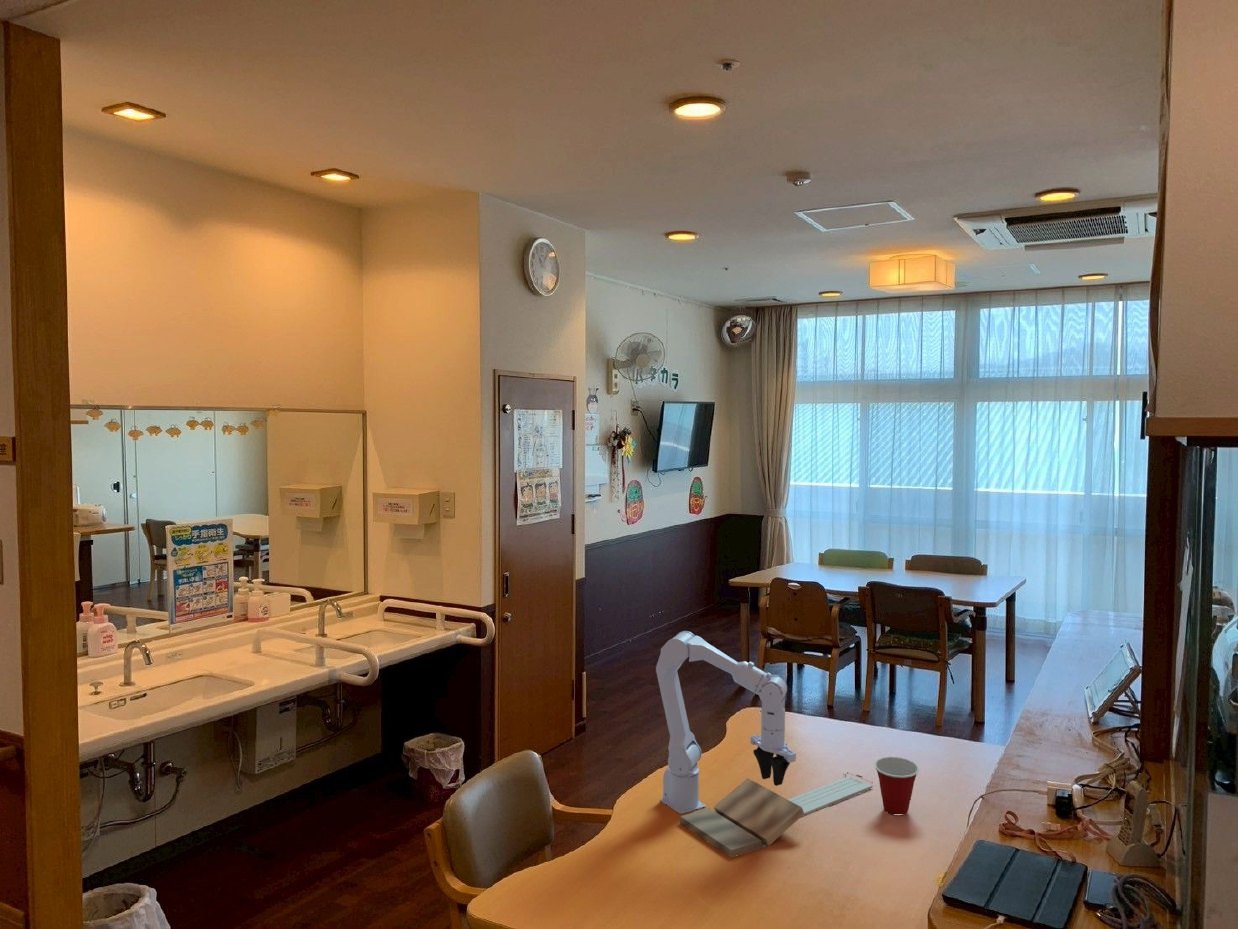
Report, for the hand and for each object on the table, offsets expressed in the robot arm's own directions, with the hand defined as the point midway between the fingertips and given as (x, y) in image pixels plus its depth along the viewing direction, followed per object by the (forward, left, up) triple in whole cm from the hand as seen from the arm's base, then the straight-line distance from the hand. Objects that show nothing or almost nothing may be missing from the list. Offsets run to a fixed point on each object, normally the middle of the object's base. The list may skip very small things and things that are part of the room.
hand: (772, 781), depth 222 cm
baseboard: (-4, +20, -11) cm, 23 cm away
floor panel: (0, -16, -10) cm, 19 cm away
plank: (0, -4, -7) cm, 8 cm away
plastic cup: (+12, +31, -10) cm, 34 cm away
